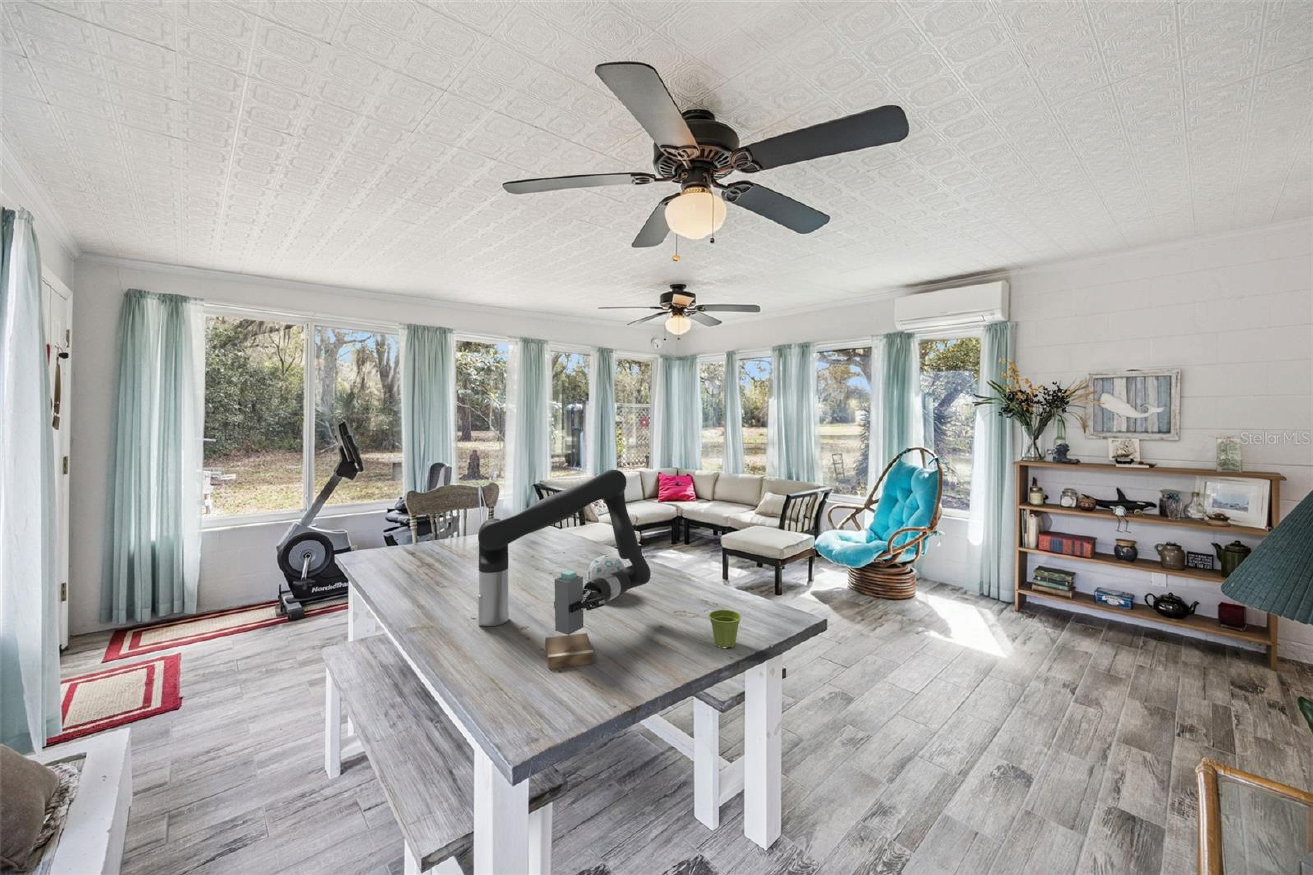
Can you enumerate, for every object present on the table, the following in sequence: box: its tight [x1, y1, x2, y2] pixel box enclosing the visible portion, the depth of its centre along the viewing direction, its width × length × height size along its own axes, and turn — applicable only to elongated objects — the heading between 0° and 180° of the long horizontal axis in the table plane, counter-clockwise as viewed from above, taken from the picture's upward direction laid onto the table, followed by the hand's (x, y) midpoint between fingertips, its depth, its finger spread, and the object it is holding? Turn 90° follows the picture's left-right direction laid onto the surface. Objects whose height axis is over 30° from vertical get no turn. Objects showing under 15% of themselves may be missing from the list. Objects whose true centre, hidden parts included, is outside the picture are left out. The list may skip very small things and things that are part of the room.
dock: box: [544, 632, 595, 670], centre depth 143 cm, size 12×13×3 cm
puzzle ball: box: [586, 554, 626, 582], centre depth 192 cm, size 15×15×15 cm
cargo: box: [560, 570, 577, 582], centre depth 142 cm, size 3×3×3 cm
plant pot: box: [708, 609, 742, 648], centre depth 150 cm, size 9×9×9 cm
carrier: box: [554, 574, 584, 635], centre depth 143 cm, size 6×5×14 cm
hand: (562, 607), depth 141 cm, fingers closed on carrier, 5 cm apart
